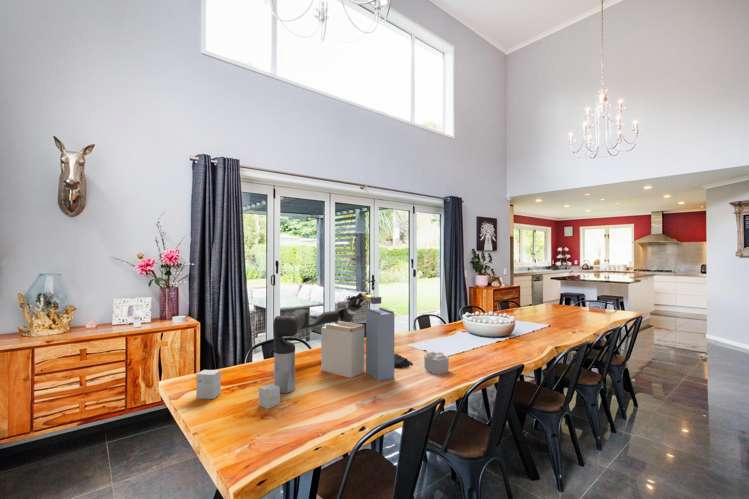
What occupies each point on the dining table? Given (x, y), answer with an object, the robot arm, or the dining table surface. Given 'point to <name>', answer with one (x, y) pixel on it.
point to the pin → (371, 299)
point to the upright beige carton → (342, 349)
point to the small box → (208, 384)
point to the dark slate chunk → (401, 361)
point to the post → (380, 343)
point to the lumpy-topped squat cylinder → (436, 362)
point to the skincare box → (269, 396)
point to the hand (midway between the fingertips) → (364, 294)
